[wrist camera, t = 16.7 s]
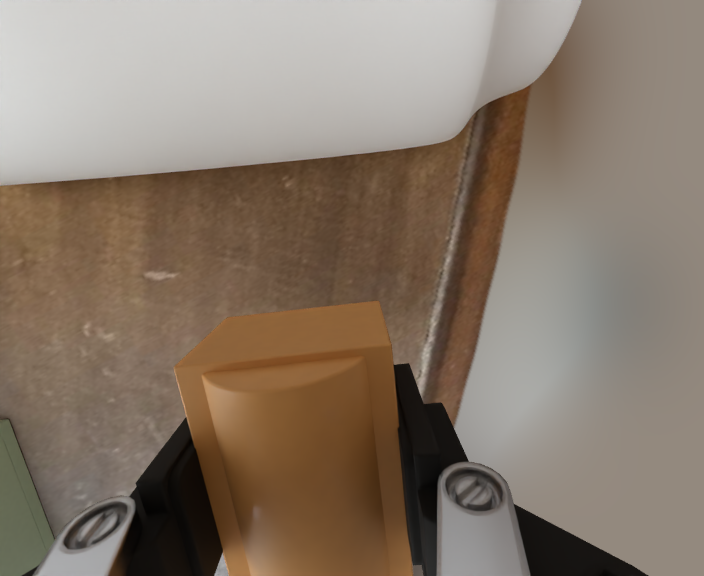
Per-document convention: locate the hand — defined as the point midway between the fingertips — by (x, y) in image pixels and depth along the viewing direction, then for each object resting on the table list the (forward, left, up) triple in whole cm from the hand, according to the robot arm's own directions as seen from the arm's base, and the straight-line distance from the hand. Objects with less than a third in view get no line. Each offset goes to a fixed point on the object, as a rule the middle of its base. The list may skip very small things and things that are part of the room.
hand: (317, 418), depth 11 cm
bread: (0, 0, 0) cm, 0 cm away
